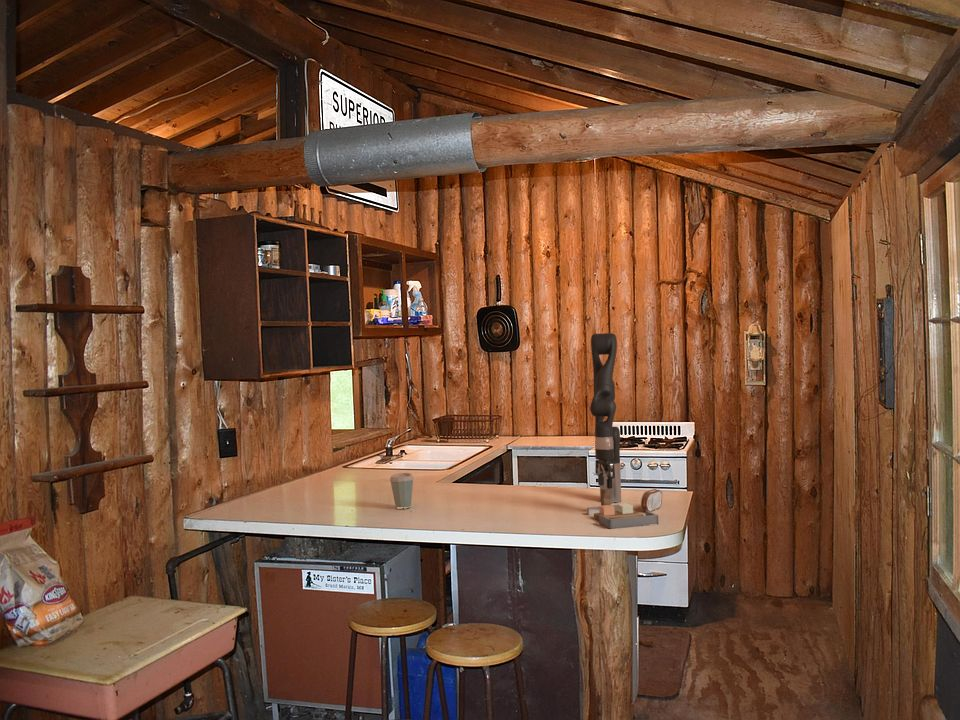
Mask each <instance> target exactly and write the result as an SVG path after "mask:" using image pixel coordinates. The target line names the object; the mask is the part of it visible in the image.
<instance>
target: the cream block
mask: <svg viewBox="0 0 960 720" xmlns="http://www.w3.org/2000/svg"><path fill="white" fill-rule="evenodd" d="M617 505H618V512H620V513H622V514H627V513H633V510H634V505H632V504H630V503H628V502H627V503H618V504H617Z"/></svg>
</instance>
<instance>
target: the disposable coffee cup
mask: <svg viewBox="0 0 960 720" xmlns="http://www.w3.org/2000/svg"><path fill="white" fill-rule="evenodd" d="M389 481H390V485H391V490H392V495H393V500H394V505H395V508H396V507H409V506H410V507H412V497H413V496H412V495H413V484H414V483H413V482H414V476H413V474H412V473H410V472H400V473H399V472H398V473H395V474H392V475H391V476H390V478H389Z"/></svg>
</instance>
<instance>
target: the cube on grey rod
mask: <svg viewBox="0 0 960 720" xmlns="http://www.w3.org/2000/svg"><path fill="white" fill-rule="evenodd" d="M604 505H611V506H613V507H614V511H618V504H613V505H612V503H611V495H610V490H609V489H601V501H600V506H604ZM594 513H600V512H599V506H592V507H591V506H590V507H587V508H586V515H587V514H588V515H587V516H594V515H593V514H594Z"/></svg>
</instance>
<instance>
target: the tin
mask: <svg viewBox="0 0 960 720" xmlns="http://www.w3.org/2000/svg"><path fill="white" fill-rule="evenodd" d="M662 503H663V492H662V491H661V489H656V488H653V489H650V490H646V491H645V492H643V494H642V496H641V501H640V506H641V510H642V512H646V511H649V512H650V511H651V512H653V510H654V511H656V510H655V509H657V510H659V509H660V508H661V506H662ZM658 508H659V509H658Z"/></svg>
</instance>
